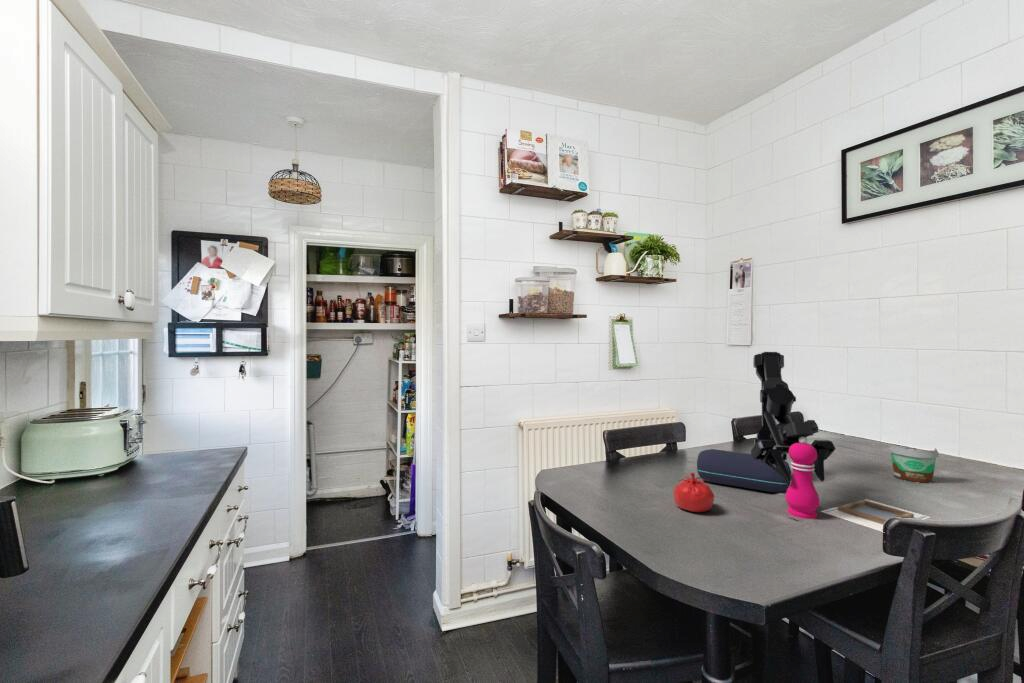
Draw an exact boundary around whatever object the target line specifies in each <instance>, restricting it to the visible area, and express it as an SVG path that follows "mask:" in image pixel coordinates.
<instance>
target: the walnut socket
mask: <svg viewBox="0 0 1024 683" xmlns="http://www.w3.org/2000/svg"><path fill="white" fill-rule="evenodd" d="M865 505H866V506H870V507H873V508H876V509H880V510H883V511H887V512H890V513H893V514H897V515H899V516H896V517H901V518H914V514H912V513H908V512H905V511H901V510H898V509H894V508H891V507H887V506H884V505H880V504H877V503H873V502H870V501H866V500H865V499H861V500H857V501H854V502H850V503H845V504H842V505H838V506H837V507H838V511H841V512H845V513H848V514H851V515H854V516H857V517H860V518H863V519H867V520H870V521H873V522H876V523H879V524H882V525H884V522H885V521H886V520H887V519H886V520H885V519H882V518H878V517H875V516H872V515H869V514H865V513H862V512H859V511H856V510H852V509H854V508H857V507H861V506H865ZM893 518H894V517H893Z"/></svg>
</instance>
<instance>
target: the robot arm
mask: <svg viewBox="0 0 1024 683" xmlns="http://www.w3.org/2000/svg"><path fill="white" fill-rule="evenodd" d="M752 365H753V368H755V375H756V376H757V378H758V379H759V380H760V382H761V383H760V384H761V385H760V386H761V388H760V390H759V403H761V427H760V429H759V430H758V432H757V433H756V438H754V440H753V447H752V448H751V450H750V454H751V455H752V457H753V459H754V460H761V462H762V463H766V464H767V465H768V466H770V467H771V468H772V469H774V470H775V471H776V472H777V473H778V474H779V475H781V476H782V477H783V478H784V479H785V480H786V481H790V477H789V474H788V471H787V469H786V467H785V465H784V462H783V460H784V461H787V460H788V459H787V456H788V455H789V448H790V446H791V445H793V444H794V443H800V442H799V438H800V437H805V438H806V439H807V440H808V438H807V437H810V436H811V437H812V436H814V435H815V434H816V433H818V432H819V431H820V430H819V425H818V423H817V422H816V420H815V419H807V420H805V421H792V418H791V416H790V414H791V412H792V408H793V404H794V403H795V402H797V397H796V395H794V393H793V392H792V390H791V389H790V388H789V384H788V383H787V382H785V381H784V380H783V377H782V369H784V368H785V355H783V354H781V353H780V352H777V351H763V352H761V353H757V354H754V355H753V363H752ZM810 445H812V446H813V447H814V448H815V449H816V451H817V459H816V460H815V461H814V462H813V464H814V465H815V466H814V469H815V470H814V471H813V473H815V475H816V477H817V478H818V480H819V481H820V482H821V483H822V482H824V481H825V461H826V460H827V459H828V458H829V457H830V456H831V455H832V454H833V453H834V452H835V451H836V446H835V444H834V443H833V441H832V440H829V439H815V440H813V441H812V443H811V444H810ZM787 454H788V455H787Z"/></svg>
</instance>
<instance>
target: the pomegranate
mask: <svg viewBox="0 0 1024 683" xmlns="http://www.w3.org/2000/svg"><path fill="white" fill-rule="evenodd" d="M690 476H691V478H690V477H689V476H687V475H686V476H685V475H683V477H684V478H687V479H682V478H681V479H679V480H678V479H677V480H678V482H680V483H678V484H677V485H676V486H675V487H674V489H673V491H672V492H673V501H674V504H675V505H676V507H678V508H680V509H683V510H684V511H687V512H688V511H689V512H692V513H705V512H707V511H709V510H711V509H712V508H713V505H714V501H715V494H714V492H713V490H711V488H710V485H708V484H706V483H704V482H703V479H701V478H700V476H699V477H696V478H695V473H694V472H693V471H691V472H690ZM704 481H705V482H708V481H707V480H704Z"/></svg>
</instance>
